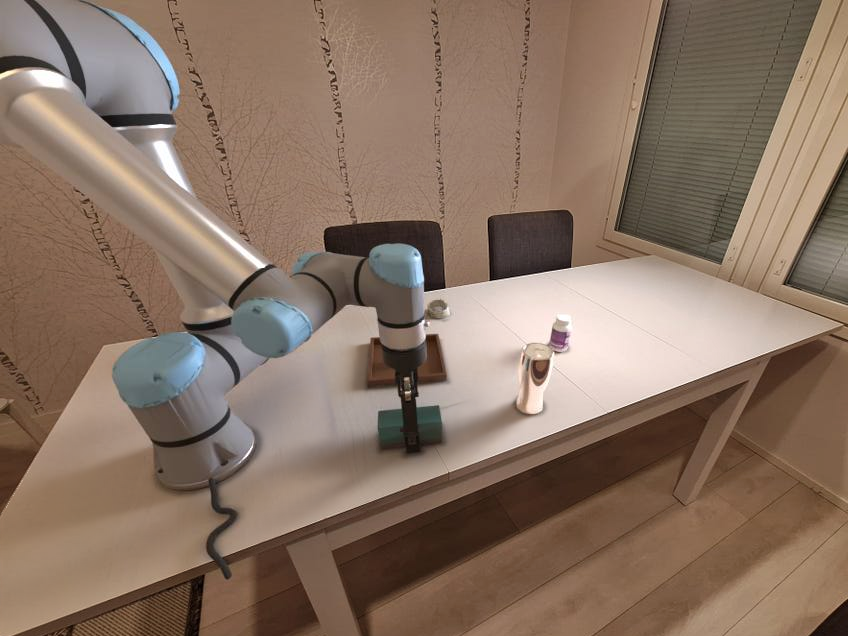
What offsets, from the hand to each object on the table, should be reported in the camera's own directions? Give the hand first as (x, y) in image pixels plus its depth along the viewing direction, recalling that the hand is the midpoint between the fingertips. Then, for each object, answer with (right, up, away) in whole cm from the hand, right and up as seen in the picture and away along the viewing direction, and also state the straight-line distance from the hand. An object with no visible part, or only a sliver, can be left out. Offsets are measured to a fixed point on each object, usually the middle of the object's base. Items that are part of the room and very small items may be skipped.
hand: (412, 436), depth 75 cm
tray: (-5, +15, +22) cm, 27 cm away
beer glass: (+25, +5, +10) cm, 28 cm away
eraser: (0, 0, 0) cm, 0 cm away
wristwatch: (0, +30, +45) cm, 54 cm away
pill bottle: (+36, +19, +32) cm, 52 cm away
